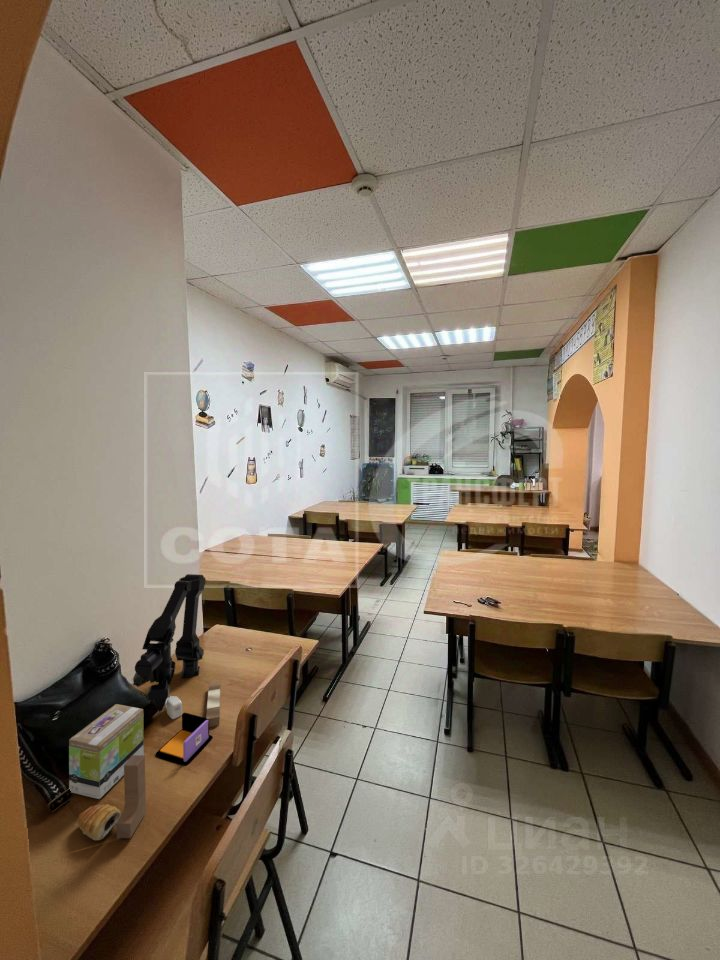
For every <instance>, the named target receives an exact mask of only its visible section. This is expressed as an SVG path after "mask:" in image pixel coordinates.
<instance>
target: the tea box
mask: <svg viewBox="0 0 720 960" xmlns="http://www.w3.org/2000/svg"><path fill="white" fill-rule="evenodd" d="M144 742H145V741H144V709H143V708H139V707H134V706H129V705H124V704H118V703H116V704H114V705H113V706H111V707H110V708H108V709H107V710H106V711H105V712H104V713H102V714H101V715H100V716H98V717H97V718H95V719H94V720H93V721H92V722H90V723H88V725H86V726H85V727H84V728H83V729H81V730H80V731H78V732H77V733H76V734H75V735H73V736H71V738H69V740H68V770H69V771H68V777H69V778H68V781H69V782H68V785H69V786H68V790H69V789H70V791H71V792H70V793H73V794H77V795H81V796H84V797H88V798H93V799H97V800H101V798H102V797H103V796H104V795H105V794H107V792H108V791H109V790H110V789H111V788H112V787H113V786H114V785H115V784H117V783H118V781H119V780H120V779H122V777H124V765H125V764H126V762H127V761H128V760H129V758H130V757H131V756H132V755H144V748H145V747H144ZM144 756H145V755H144Z"/></svg>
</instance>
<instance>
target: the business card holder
mask: <svg viewBox="0 0 720 960" xmlns="http://www.w3.org/2000/svg"><path fill="white" fill-rule="evenodd" d="M213 738H214V737H213V735H211V734H210V727H209V720H208V719H207V718H206V717H202V716H199V715H196V714H192V713H188V712H182V715H181V729H180V730H179V731H178V732H176V734H174V736H172V737H171V738H170V739H169V740H168V741H167V742H166V743H165V744H163V745H162V747H160V749H159V750H158V751H156V753H155V754H154V755H155V757H156V758H157V759H160V760H164V761H167V762H169V763H174V764H175V765H180V766H182V767H186V766H189V765H190V764H191V763H192V762H193V761H194V760H195V758H196V757H198V756H199V754H200V753H201V752H202V751H203V750H204V749H206V747H207V746H208V744H209V743H210V742H211V741H212V740H213Z"/></svg>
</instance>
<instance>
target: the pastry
mask: <svg viewBox="0 0 720 960" xmlns="http://www.w3.org/2000/svg"><path fill="white" fill-rule="evenodd" d="M121 815H122V811H121V809H119V808H117V807H116V806H115V805H111V804H109V803H106V804H95V805H91V806H89V807H88V808H86V809H84V811H83V812H80V813H79V814H78V818H77V822H76V824H77V825H78V827H79V829H80V830H81V831H82V834H83V835H86V837H88V838H90V839H92V840H93V841H101V840H102V839H104V838H105V837H106V836H107V835H108V834H109V832H110V831H112V828H113V827H115V825H116V823H117V822H118V820H119V819H120V817H121Z"/></svg>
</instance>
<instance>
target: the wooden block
mask: <svg viewBox="0 0 720 960" xmlns="http://www.w3.org/2000/svg"><path fill="white" fill-rule="evenodd" d="M123 779H124V780H123V782H124V787H123V788H124V806H123V810H122V812H121V817H120V819H119V820H118V822H117V823H116V824H115V825H116V827H115V829H116V838H117V839H131V837H132V836H133V835H134V833H135V832H136V829H137V828H138V826H139V825H140V823H141V821H142V819H143V818H144V816H145V815H146V812H147V801H146V800H147V799H146V798H147V797H146V796H147V795H146V760H145V755H132V756H131V757H130V758H129V760H128V761H127V762H126V764H125V765H124V775H123Z"/></svg>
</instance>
